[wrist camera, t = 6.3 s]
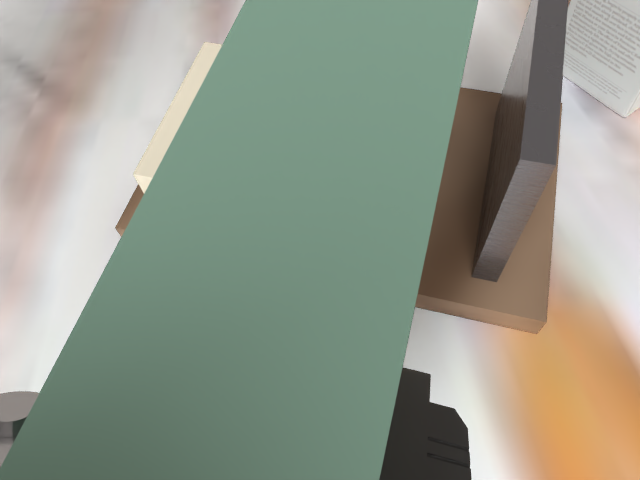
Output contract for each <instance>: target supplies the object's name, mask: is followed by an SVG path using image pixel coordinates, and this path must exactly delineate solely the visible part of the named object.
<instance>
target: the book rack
mask: <svg viewBox="0 0 640 480" xmlns="http://www.w3.org/2000/svg"><path fill="white" fill-rule="evenodd" d="M501 95H502V94H500V93H494V92H487V91H480V90H474V89H467V88H461V87H460V91H459V96H458V101H457V105H456V110H455V115H454V120H453V125H452V130H451V134H450V139H449V144H448V149H447V154H446V159H445V164H444V168H443V173H442V178H441V183H440V188H439V193H438V197H437V202H436V207H435V212H434V217H433V222H432V227H431V231H430V236H429V241H428V246H427V251H426V256H425V260H424V265H423V270H422V275H421V280H420V285H419V290H418V294H417V299H416V304H415V307H418V308H423V309H427V310H431V311H436V312H440V313H445V314H449V315H454V316H458V317H463V318H467V319H472V320H476V321H481V322H485V323H490V324H494V325H499V326H503V327H508V328H512V329H517V330H521V331H526V332H530V333H535V334H537V333H538V332H539V331H540V330H541V328H542V327H543V326H544V325H545V323H546V321H547V307H548V293H549V280H550V266H551V252H552V238H553V224H554V210H555V196H556V182H557V168H558V154H559V140H560V126H561V112H562V103H561V106H560V119H559V133H558V147H557V160H556V167H555V169H554V171H553V173H552V175H551V177H550V179H549V180H548V182H547V184H546V186H545V188H544V190H543V192H542V194H541V196H540V198H539V200H538V202H537V204H536V206H535V208H534V210H533V212H532V214H531V216H530V218H529V220H528V222H527V224H526V226H525V228H524V230H523V232H522V234H521V236H520V238H519V240H518V241H517V243H516V245H515V247H514V249H513V251H512V253H511V255H510V257H509V259H508V261H507V263H506V265H505V267H504V269H503V271H502V273H501V275H500V277H499V279H498V281H497V282H492V281H487V280H483V279H478V278H473V277H471V276H472V270H473V263H474V256H475V250H476V243H477V236H478V229H479V223H480V216H481V209H482V203H483V196H484V189H485V183H486V176H487V169H488V163H489V156H490V149H491V142H492V136H493V129H494V122H495V116H496V110H497V107H498V104H499V101H500V98H501ZM143 195H144V193H143V191H142V189H141V188H140V186H139V184H138V186H137V188H136V190H135V191H134V193H133V195H132V197H131V199H130V201H129V203H128V205H127V207H126V208H125V210H124V212H123V214H122V216H121V218H120V220H119V222H118V224H117V225H116V227H115V228H116V230H117V231H118V233H119V234H120V235H121V237H122V235H123V233H124V231H125V229H126V227H127V226H128V224H129V222H130V220H131V218H132V216H133V214H134V212H135V210H136V208H137V207H138V205H139V203H140V201H141V199H142V197H143Z"/></svg>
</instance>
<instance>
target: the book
mask: <svg viewBox="0 0 640 480" xmlns="http://www.w3.org/2000/svg"><path fill="white" fill-rule="evenodd" d="M477 4H478V0H246V1H245V3H244V5H243V7H242V9H241V10H240V12H239V14H238V16H237V18H236V20H235V22H234V24H233V26H232V28H231V29H230V31H229V33H228V35H227V37H226V39H225V41H224V43H223V45H222V47H221V49H220V50H219V52H218V54H217V56H216V58H215V60H214V62H213V64H212V66H211V68H210V69H209V71H208V73H207V75H206V77H205V79H204V81H203V83H202V85H201V87H200V89H199V90H198V92H197V94H196V96H195V98H194V100H193V102H192V104H191V106H190V108H189V109H188V111H187V113H186V115H185V117H184V119H183V121H182V123H181V125H180V127H179V128H178V130H177V132H176V134H175V136H174V138H173V140H172V142H171V144H170V146H169V148H168V149H167V151H166V153H165V155H164V157H163V159H162V161H161V163H160V165H159V167H158V168H157V170H156V172H155V174H154V176H153V178H152V180H151V182H150V184H149V186H148V188H147V189H146V191H145V193H144V195H143V197H142V199H141V201H140V203H139V205H138V207H137V208H136V210H135V212H134V214H133V216H132V218H131V220H130V222H129V224H128V226H127V227H126V229H125V231H124V233H123V235H122V237H121V239H120V241H119V243H118V245H117V247H116V248H115V250H114V252H113V254H112V256H111V258H110V260H109V262H108V264H107V266H106V267H105V269H104V271H103V273H102V275H101V277H100V279H99V281H98V283H97V285H96V287H95V288H94V290H93V292H92V294H91V296H90V298H89V300H88V302H87V304H86V306H85V307H84V309H83V311H82V313H81V315H80V317H79V319H78V321H77V323H76V325H75V326H74V328H73V330H72V332H71V334H70V336H69V338H68V340H67V342H66V344H65V346H64V347H63V349H62V351H61V353H60V355H59V357H58V359H57V361H56V363H55V365H54V366H53V368H52V370H51V372H50V374H49V376H48V378H47V380H46V382H45V384H44V385H43V387H42V389H41V391H40V393H39V395H38V397H37V399H36V401H35V403H34V405H33V406H32V408H31V410H30V412H29V414H28V416H27V418H26V420H25V422H24V424H23V425H22V427H21V429H20V431H19V433H18V435H17V437H16V439H15V441H14V443H13V445H12V446H11V448H10V450H9V452H8V454H7V456H6V458H5V460H4V462H3V464H2V465H1V467H0V480H379V478H380V474H381V469H382V464H383V459H384V454H385V449H386V445H387V440H388V435H389V430H390V425H391V420H392V415H393V411H394V406H395V401H396V396H397V391H398V386H399V382H400V377H401V372H402V367H403V362H404V357H405V353H406V348H407V343H408V338H409V333H410V328H411V323H412V319H413V314H414V309H415V304H416V299H417V294H418V290H419V285H420V280H421V275H422V270H423V265H424V260H425V256H426V251H427V246H428V241H429V236H430V231H431V227H432V222H433V217H434V212H435V207H436V202H437V197H438V193H439V188H440V183H441V178H442V173H443V168H444V164H445V159H446V154H447V149H448V144H449V139H450V134H451V130H452V125H453V120H454V115H455V110H456V105H457V101H458V96H459V91H460V86H461V81H462V76H463V71H464V67H465V62H466V57H467V52H468V47H469V42H470V38H471V33H472V28H473V23H474V18H475V13H476V8H477Z"/></svg>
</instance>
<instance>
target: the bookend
mask: <svg viewBox="0 0 640 480" xmlns="http://www.w3.org/2000/svg"><path fill="white" fill-rule="evenodd" d="M567 10H568V0H531V3H530V6H529V9H528V12H527V16H526V19H525V22H524V25H523V28H522V31H521V35H520V38H519V41H518V44H517V47H516V50H515V54H514V57H513V60H512V63H511V66H510V69H509V73H508V76H507V79H506V82H505V85H504V88H503V91H502V95H501V98H500V101H499V104H498V107H497V110H496V116H495V122H494V129H493V136H492V142H491V149H490V156H489V163H488V169H487V176H486V183H485V189H484V196H483V203H482V209H481V216H480V223H479V229H478V236H477V243H476V250H475V256H474V263H473V270H472V276H471V277H473V278H478V279H483V280H487V281H492V282H497V281H498V279H499V277H500V275H501V273H502V271H503V269H504V267H505V265H506V263H507V261H508V259H509V257H510V255H511V253H512V251H513V249H514V247H515V245H516V243H517V241H518V240H519V238H520V236H521V234H522V232H523V230H524V228H525V226H526V224H527V222H528V220H529V218H530V216H531V214H532V212H533V210H534V208H535V206H536V204H537V202H538V200H539V198H540V196H541V194H542V192H543V190H544V188H545V186H546V184H547V182H548V180H549V179H550V177H551V175H552V173H553V171H554V169H555V167H556V160H557V147H558V133H559V119H560V106H561V92H562V78H563V65H564V51H565V37H566V24H567Z"/></svg>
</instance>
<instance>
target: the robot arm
mask: <svg viewBox="0 0 640 480" xmlns="http://www.w3.org/2000/svg"><path fill="white" fill-rule="evenodd" d="M430 378H431V376H430V374H427V373H423V372H419V371H415V370H411V369H407V368H403V367H402V372H401V377H400V382H399V386H398V391H397V396H396V401H395V406H394V411H393V415H392V420H391V425H390V430H389V435H388V440H387V445H386V449H385V454H384V459H383V464H382V469H381V474H380V478H379V480H471V469H470V454H469V452H468V451H469V441H468V428H467V427H466V425H465V424H464V422H463V421H462V419H461V418H460V416H459V415H458V413H457V412H456V410H455V409H454V408H450V407H446V406H442V405H438V404H435V403H431V402H429V399H430ZM38 395H39V393H37V392H8V393H2V394H0V467H1V465H2V464H3V462H4V460H5V458H6V456H7V454H8V452H9V450H10V448H11V446H12V445H13V443H14V441H15V439H16V437H17V435H18V433H19V431H20V429H21V427H22V425H23V424H24V422H25V420H26V418H27V416H28V414H29V412H30V410H31V408H32V406H33V405H34V403H35V401H36V399H37V397H38Z"/></svg>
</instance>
